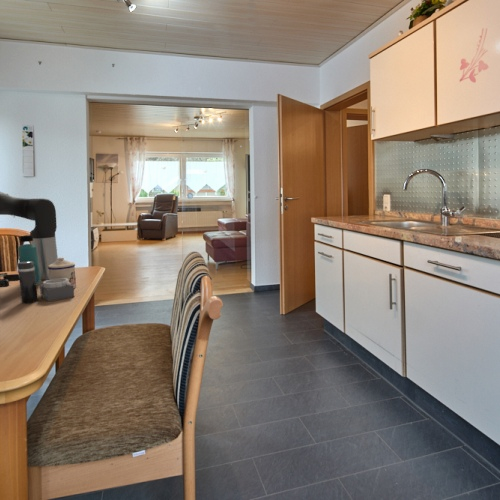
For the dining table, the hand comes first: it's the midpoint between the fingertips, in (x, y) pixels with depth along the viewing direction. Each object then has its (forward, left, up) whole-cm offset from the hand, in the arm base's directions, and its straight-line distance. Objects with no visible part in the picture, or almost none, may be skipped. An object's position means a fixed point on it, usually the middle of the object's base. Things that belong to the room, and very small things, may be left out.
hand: (14, 280), depth 127 cm
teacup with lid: (-10, +17, -8) cm, 21 cm away
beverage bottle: (-19, +8, -8) cm, 22 cm away
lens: (+2, +3, -8) cm, 8 cm away
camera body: (+2, +12, -8) cm, 14 cm away
